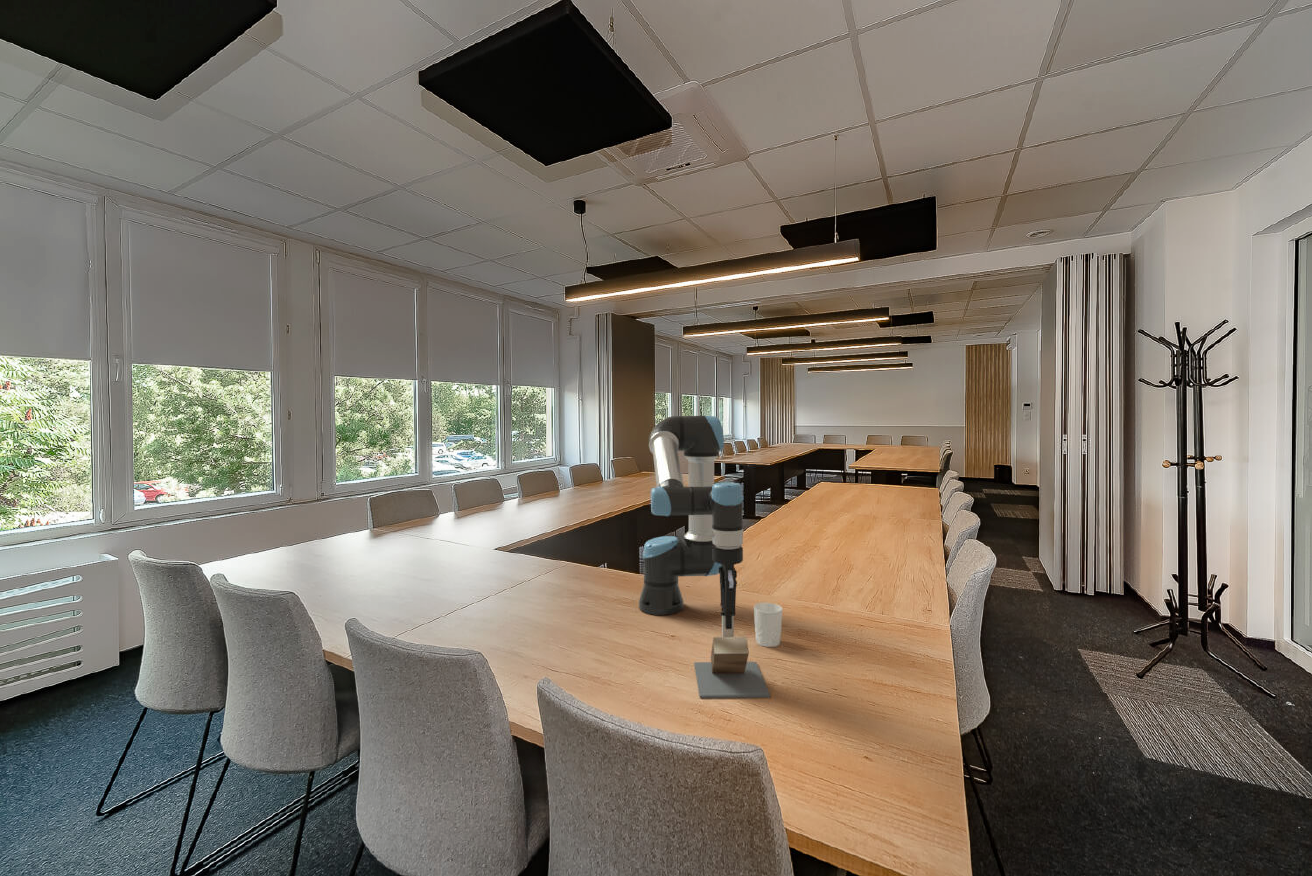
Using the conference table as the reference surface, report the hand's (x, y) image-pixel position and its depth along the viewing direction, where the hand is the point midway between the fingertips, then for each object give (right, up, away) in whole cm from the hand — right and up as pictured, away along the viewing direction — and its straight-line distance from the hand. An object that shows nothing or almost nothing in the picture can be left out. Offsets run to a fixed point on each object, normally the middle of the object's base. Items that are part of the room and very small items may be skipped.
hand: (727, 639), depth 127 cm
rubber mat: (0, -9, -3) cm, 9 cm away
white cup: (+14, -8, +18) cm, 24 cm away
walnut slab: (0, -7, +1) cm, 7 cm away
